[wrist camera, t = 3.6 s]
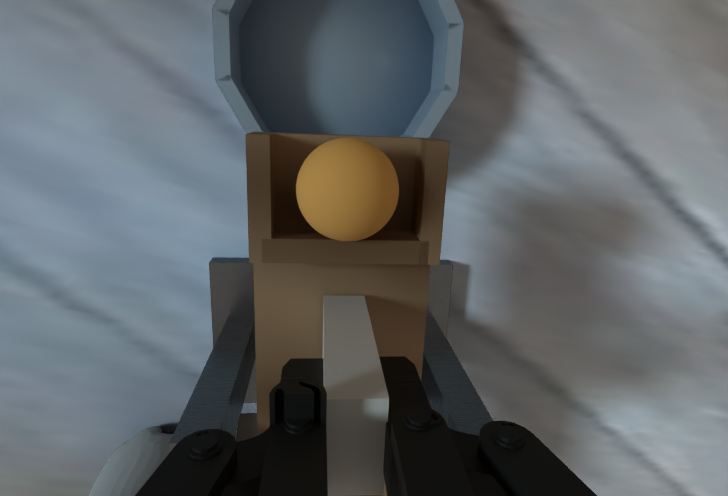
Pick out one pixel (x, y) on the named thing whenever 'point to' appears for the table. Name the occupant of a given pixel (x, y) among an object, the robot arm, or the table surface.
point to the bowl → (338, 64)
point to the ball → (347, 189)
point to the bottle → (132, 464)
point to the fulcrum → (238, 357)
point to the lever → (337, 257)
